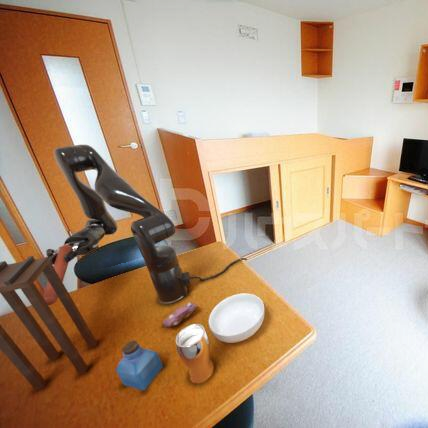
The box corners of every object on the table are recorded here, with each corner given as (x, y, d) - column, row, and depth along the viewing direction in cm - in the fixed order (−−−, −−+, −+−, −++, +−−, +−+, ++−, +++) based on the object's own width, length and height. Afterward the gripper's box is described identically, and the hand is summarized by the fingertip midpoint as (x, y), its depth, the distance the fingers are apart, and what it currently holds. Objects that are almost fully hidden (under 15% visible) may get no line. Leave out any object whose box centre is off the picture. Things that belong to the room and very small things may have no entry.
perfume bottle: (144, 390, 61) (128, 360, 56) (124, 385, 62) (107, 355, 57) (163, 366, 67) (150, 337, 61) (144, 362, 68) (130, 333, 63)
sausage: (64, 249, 79) (58, 244, 77) (75, 247, 80) (70, 242, 78) (44, 308, 67) (36, 303, 65) (58, 304, 68) (51, 300, 66)
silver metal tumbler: (221, 368, 66) (211, 331, 60) (197, 391, 61) (184, 353, 55) (205, 355, 70) (195, 318, 63) (182, 375, 64) (168, 338, 58)
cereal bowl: (244, 300, 89) (242, 285, 86) (276, 322, 81) (275, 307, 78) (201, 332, 77) (197, 316, 74) (234, 362, 68) (230, 346, 65)
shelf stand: (97, 342, 73) (45, 253, 59) (86, 372, 65) (24, 277, 51) (53, 356, 69) (-14, 264, 54) (35, 390, 61) (-48, 292, 47)
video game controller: (169, 334, 77) (170, 325, 73) (161, 324, 78) (161, 314, 74) (197, 313, 85) (199, 304, 81) (189, 304, 86) (191, 295, 82)
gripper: (54, 235, 85) (22, 255, 70) (104, 227, 90) (83, 244, 75) (62, 254, 87) (32, 277, 72) (110, 245, 92) (91, 265, 77)
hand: (58, 260), depth 74 cm, fingers closed on sausage, 3 cm apart
